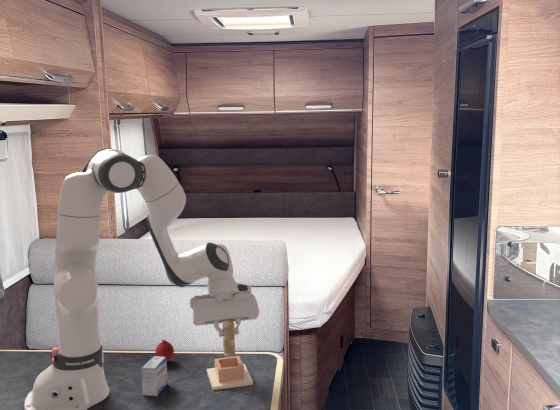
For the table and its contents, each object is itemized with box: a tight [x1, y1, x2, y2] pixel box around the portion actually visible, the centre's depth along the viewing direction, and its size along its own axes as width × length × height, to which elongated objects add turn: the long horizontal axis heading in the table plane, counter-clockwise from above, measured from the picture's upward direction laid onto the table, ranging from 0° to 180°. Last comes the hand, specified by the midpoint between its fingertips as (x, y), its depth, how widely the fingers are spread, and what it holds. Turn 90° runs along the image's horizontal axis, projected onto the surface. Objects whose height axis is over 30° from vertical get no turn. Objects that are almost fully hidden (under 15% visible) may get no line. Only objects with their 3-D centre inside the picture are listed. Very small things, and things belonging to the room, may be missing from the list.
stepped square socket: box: [206, 355, 254, 391], centre depth 171 cm, size 12×12×5 cm
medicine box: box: [141, 355, 168, 397], centre depth 164 cm, size 8×4×9 cm, turn 168°
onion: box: [155, 338, 175, 363], centre depth 181 cm, size 6×6×8 cm
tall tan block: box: [222, 320, 236, 358], centre depth 170 cm, size 3×3×10 cm
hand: (229, 335), depth 169 cm, fingers closed on tall tan block, 3 cm apart
